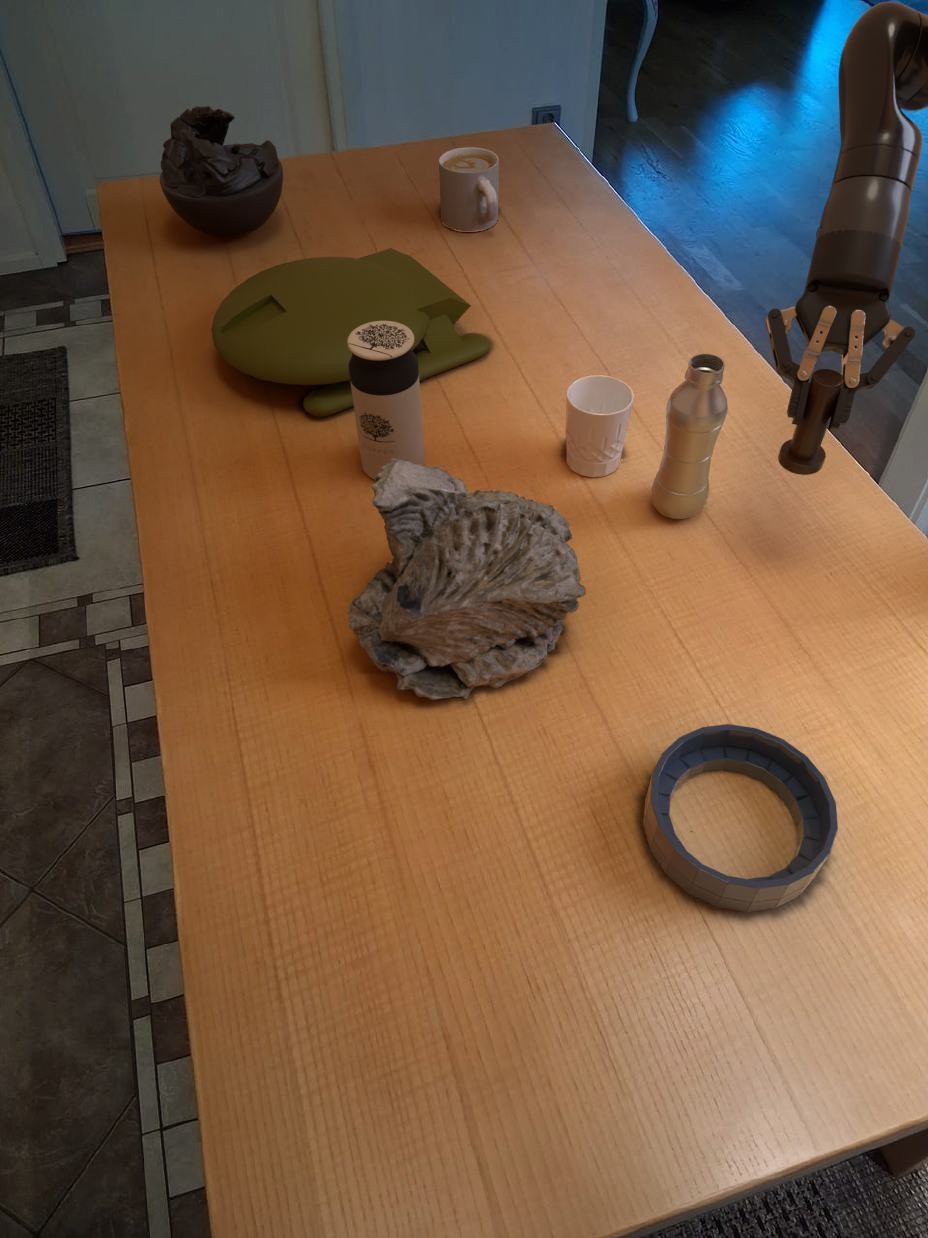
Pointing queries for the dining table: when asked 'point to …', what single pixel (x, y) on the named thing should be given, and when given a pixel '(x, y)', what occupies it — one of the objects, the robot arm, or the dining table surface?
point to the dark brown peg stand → (812, 425)
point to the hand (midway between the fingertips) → (815, 425)
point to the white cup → (597, 424)
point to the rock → (463, 583)
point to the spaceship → (337, 321)
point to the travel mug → (386, 395)
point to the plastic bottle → (690, 438)
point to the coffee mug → (469, 188)
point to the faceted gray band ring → (761, 762)
